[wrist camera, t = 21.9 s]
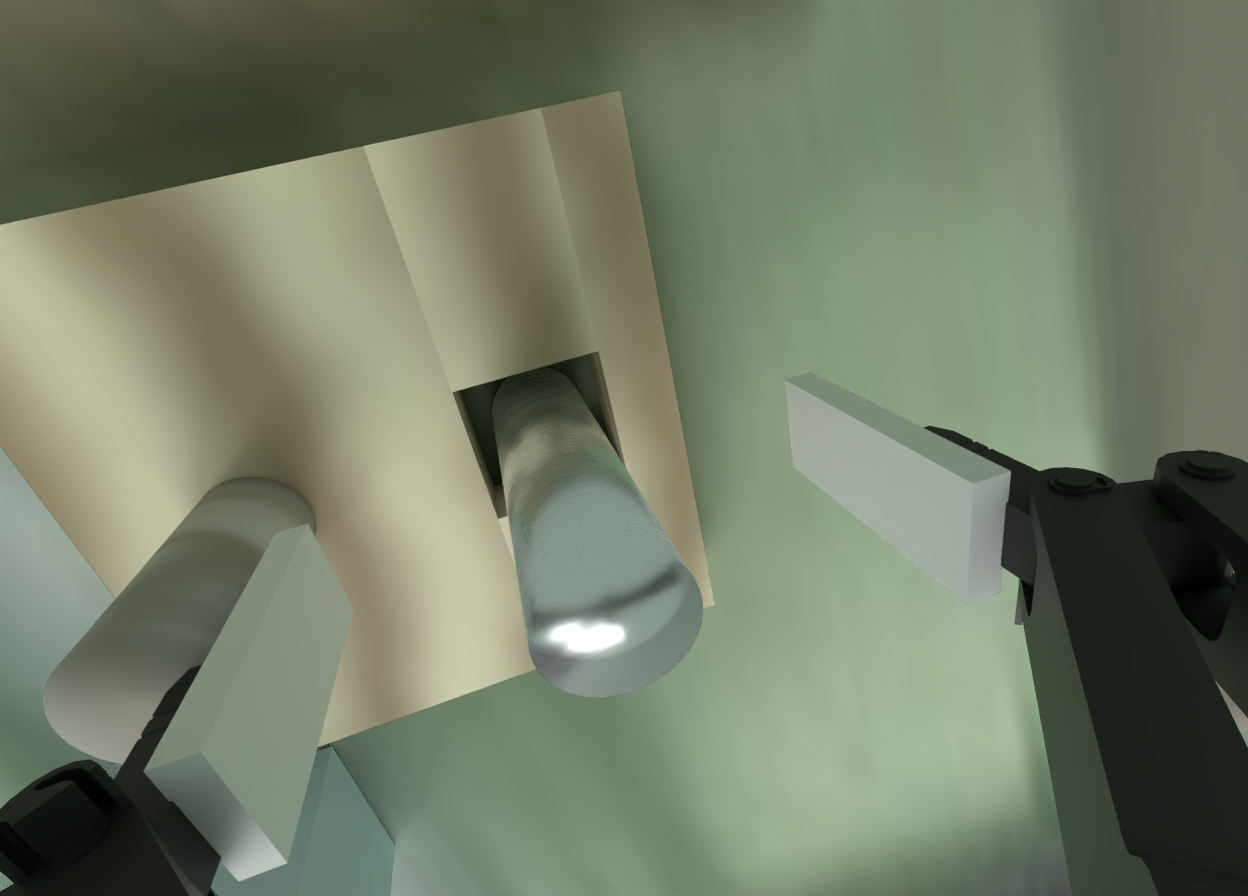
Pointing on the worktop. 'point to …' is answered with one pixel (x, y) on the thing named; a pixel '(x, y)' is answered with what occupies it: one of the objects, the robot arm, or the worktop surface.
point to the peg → (587, 547)
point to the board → (327, 397)
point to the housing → (326, 844)
